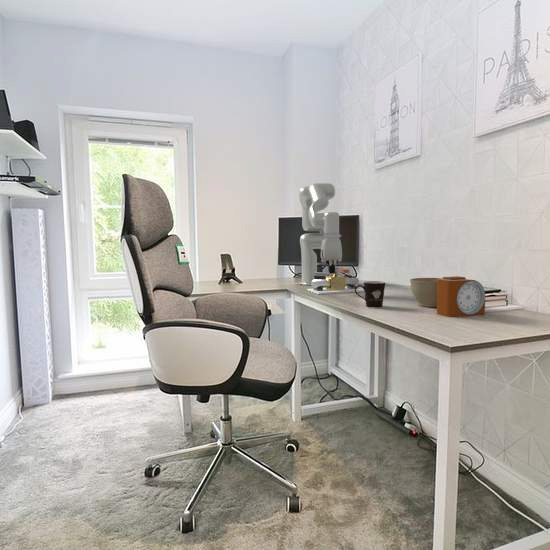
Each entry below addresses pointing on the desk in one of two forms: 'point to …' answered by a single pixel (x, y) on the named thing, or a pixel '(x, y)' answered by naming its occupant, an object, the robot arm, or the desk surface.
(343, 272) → the valve lever
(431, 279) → the planter bowl
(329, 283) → the valve pipe
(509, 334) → the desk surface
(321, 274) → the electrical switch
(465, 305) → the alarm clock
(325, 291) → the board
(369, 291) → the coffee mug
